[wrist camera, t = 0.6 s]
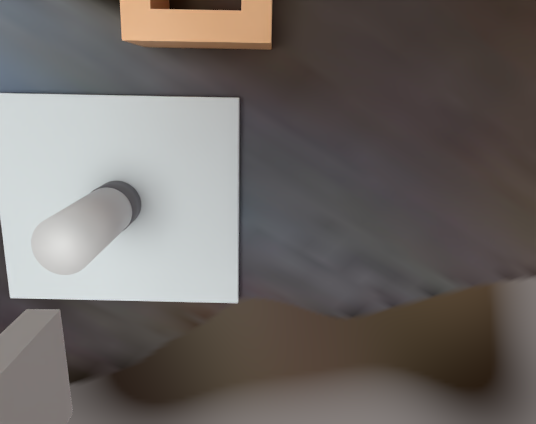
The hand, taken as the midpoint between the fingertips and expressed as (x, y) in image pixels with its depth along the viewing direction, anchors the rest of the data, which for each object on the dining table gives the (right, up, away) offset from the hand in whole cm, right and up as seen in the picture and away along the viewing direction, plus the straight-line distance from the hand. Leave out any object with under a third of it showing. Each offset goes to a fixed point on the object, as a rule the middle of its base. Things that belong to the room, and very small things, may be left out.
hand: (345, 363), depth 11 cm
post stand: (-12, +4, +22) cm, 26 cm away
